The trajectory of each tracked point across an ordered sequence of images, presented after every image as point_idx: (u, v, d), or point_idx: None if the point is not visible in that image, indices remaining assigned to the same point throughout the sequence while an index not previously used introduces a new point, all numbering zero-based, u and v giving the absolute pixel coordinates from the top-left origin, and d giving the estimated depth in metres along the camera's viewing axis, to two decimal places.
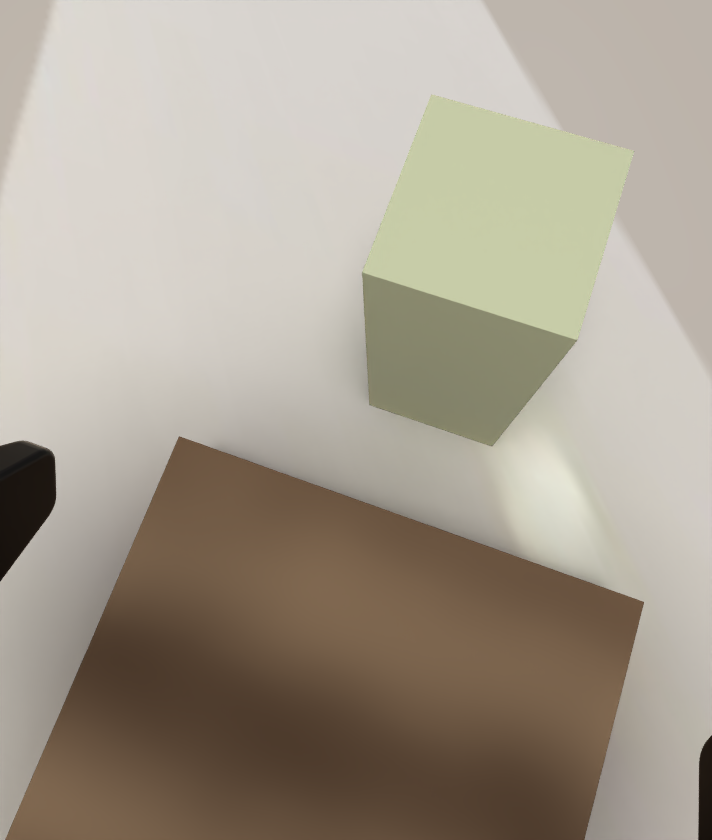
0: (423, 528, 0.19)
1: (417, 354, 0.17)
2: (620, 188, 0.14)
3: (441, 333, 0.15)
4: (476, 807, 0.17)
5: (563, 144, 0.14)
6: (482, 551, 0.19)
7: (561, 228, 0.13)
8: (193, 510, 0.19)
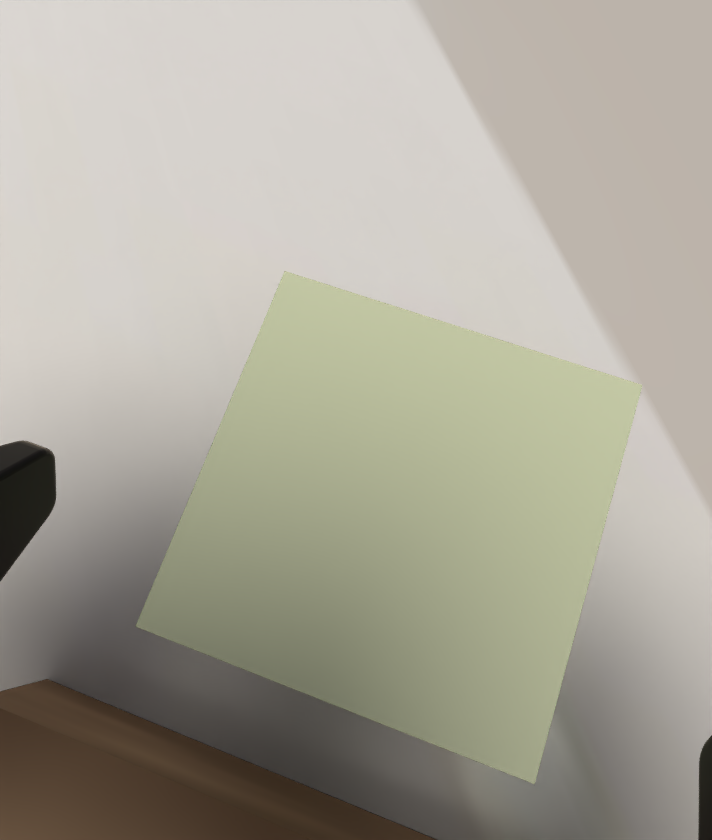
0: None
1: None
2: (617, 459, 0.07)
3: None
4: None
5: (515, 371, 0.08)
6: None
7: (509, 541, 0.07)
8: None
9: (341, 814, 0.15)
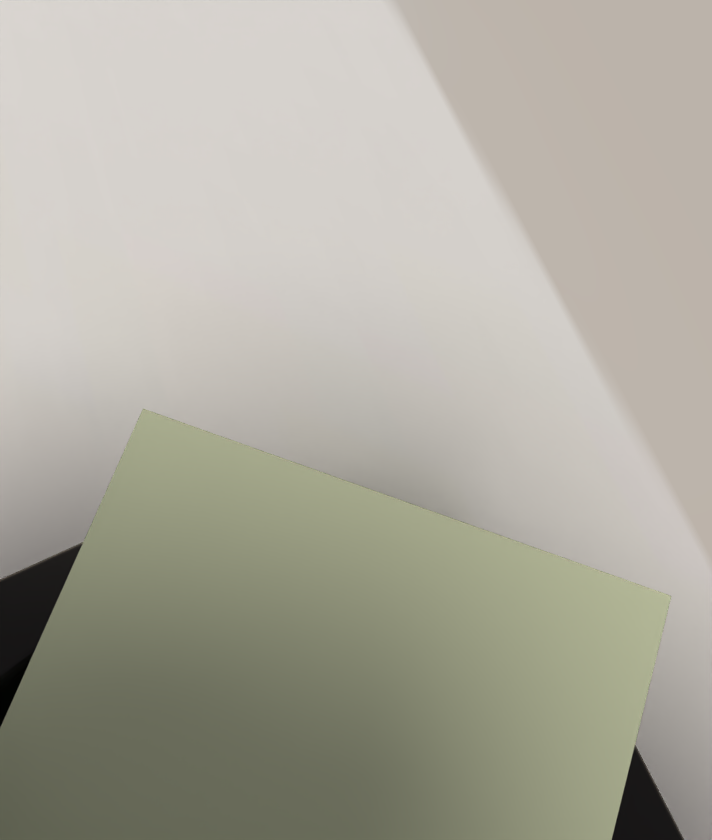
0: None
1: None
2: (634, 716, 0.05)
3: None
4: None
5: (480, 571, 0.05)
6: None
7: None
8: None
9: None
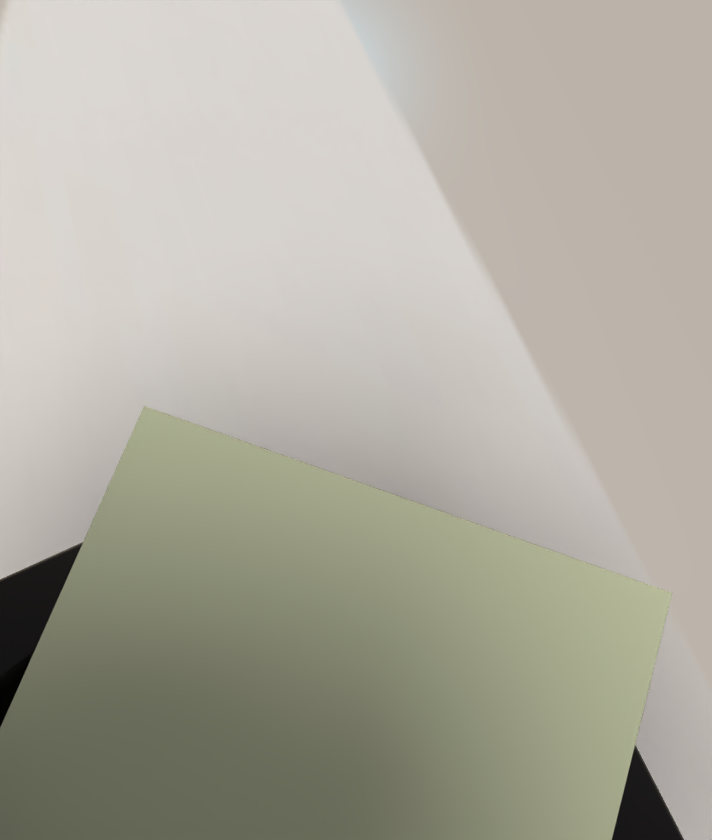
0: None
1: None
2: (635, 714, 0.05)
3: None
4: None
5: (479, 568, 0.05)
6: None
7: None
8: None
9: None
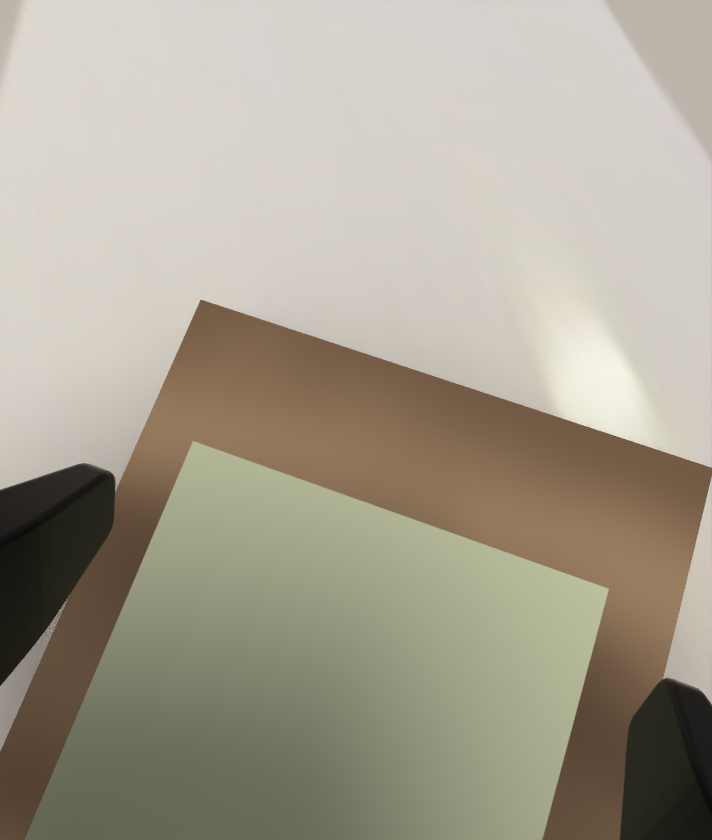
0: (469, 393, 0.17)
1: None
2: (578, 682, 0.06)
3: None
4: None
5: (459, 570, 0.07)
6: (534, 416, 0.17)
7: (447, 788, 0.06)
8: (217, 376, 0.18)
9: None
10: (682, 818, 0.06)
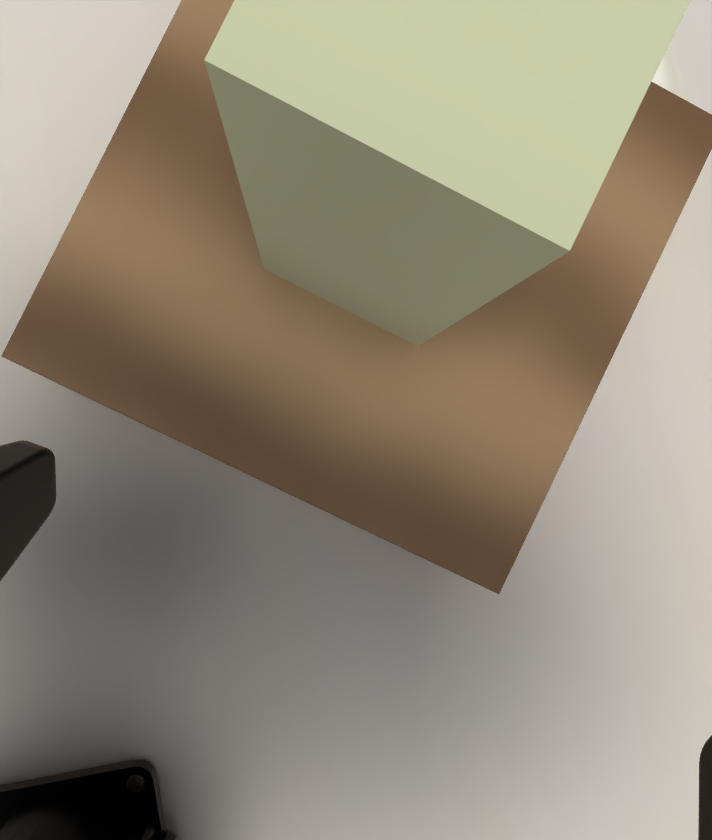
0: None
1: (315, 220, 0.11)
2: None
3: (350, 196, 0.09)
4: (530, 289, 0.17)
5: None
6: None
7: (583, 32, 0.07)
8: None
9: None
10: None
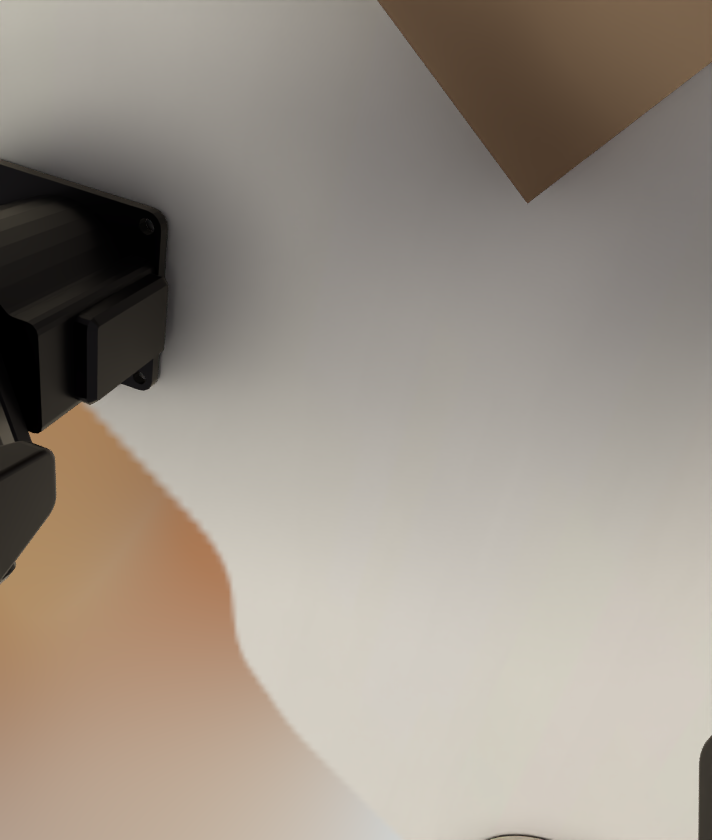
0: None
1: None
2: None
3: None
4: None
5: None
6: None
7: None
8: None
9: None
10: None
